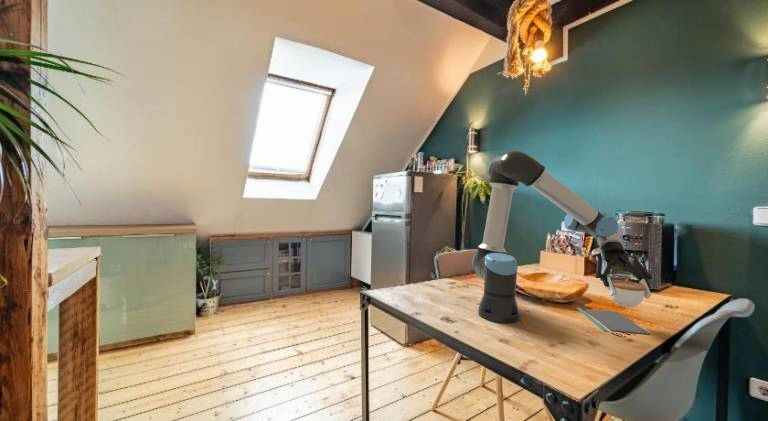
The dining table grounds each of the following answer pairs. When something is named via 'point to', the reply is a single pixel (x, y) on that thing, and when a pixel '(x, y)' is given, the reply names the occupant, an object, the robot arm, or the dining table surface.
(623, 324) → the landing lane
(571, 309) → the dining table surface
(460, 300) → the dining table surface
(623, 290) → the lidded jar
